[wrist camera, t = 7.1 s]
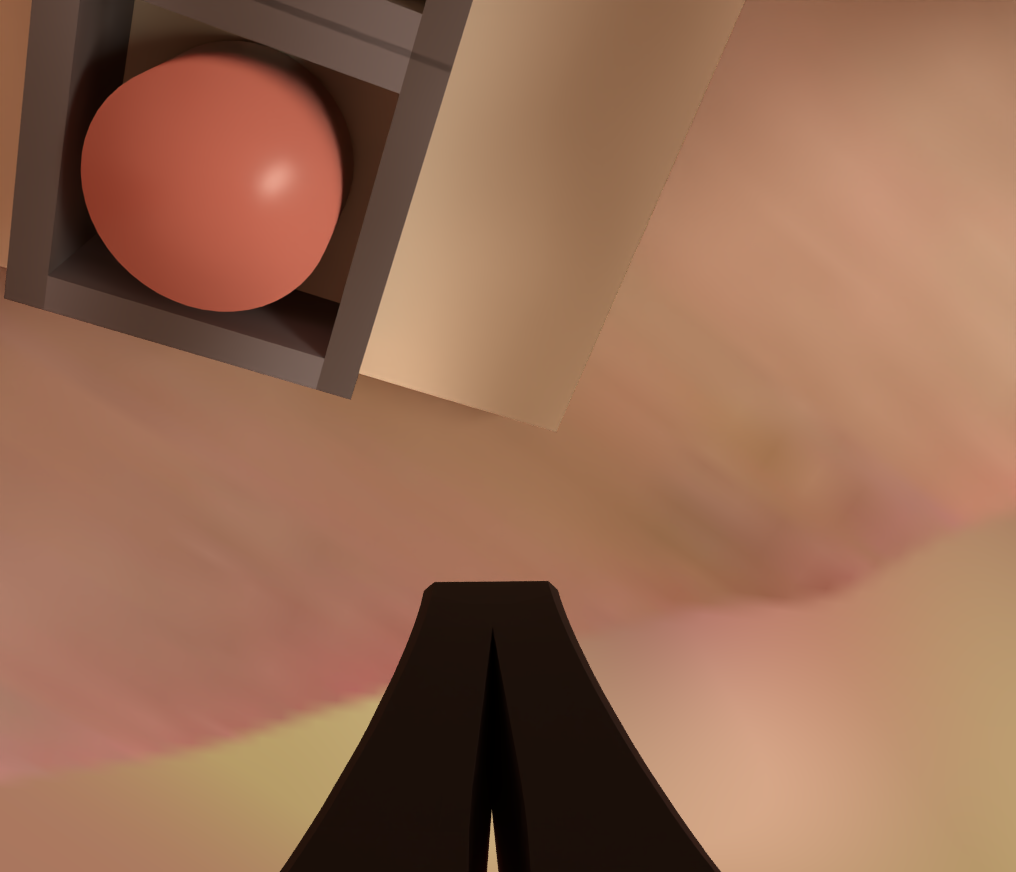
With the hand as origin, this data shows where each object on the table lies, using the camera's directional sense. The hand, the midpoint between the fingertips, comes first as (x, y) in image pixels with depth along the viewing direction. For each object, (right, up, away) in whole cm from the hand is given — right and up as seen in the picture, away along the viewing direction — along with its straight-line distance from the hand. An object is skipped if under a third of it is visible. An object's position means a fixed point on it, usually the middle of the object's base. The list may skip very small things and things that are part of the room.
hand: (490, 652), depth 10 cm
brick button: (-4, +7, +5) cm, 10 cm away
